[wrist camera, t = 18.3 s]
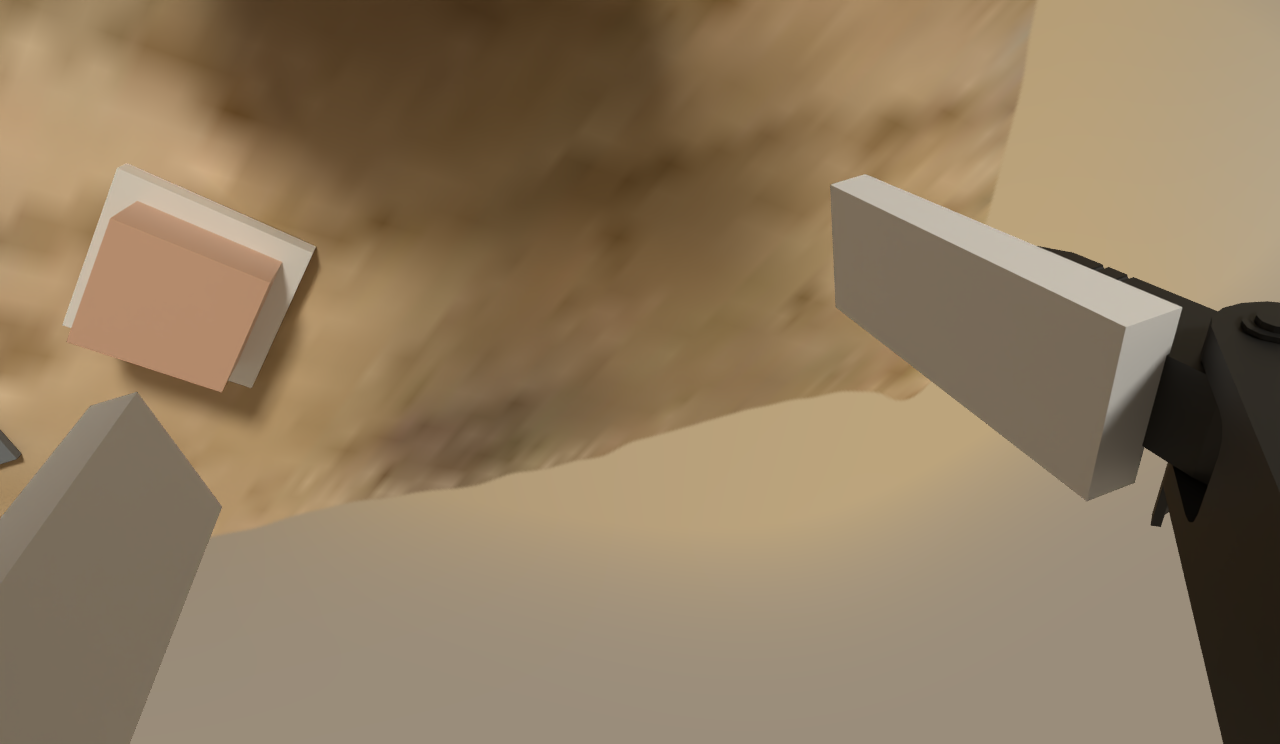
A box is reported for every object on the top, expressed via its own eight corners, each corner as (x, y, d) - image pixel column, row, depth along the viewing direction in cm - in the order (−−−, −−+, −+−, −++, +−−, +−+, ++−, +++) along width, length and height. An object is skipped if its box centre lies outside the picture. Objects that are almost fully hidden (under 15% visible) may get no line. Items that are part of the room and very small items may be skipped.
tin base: (73, 315, 43) (29, 352, 38) (127, 163, 40) (87, 182, 35) (256, 378, 48) (237, 417, 43) (316, 246, 45) (303, 273, 40)
